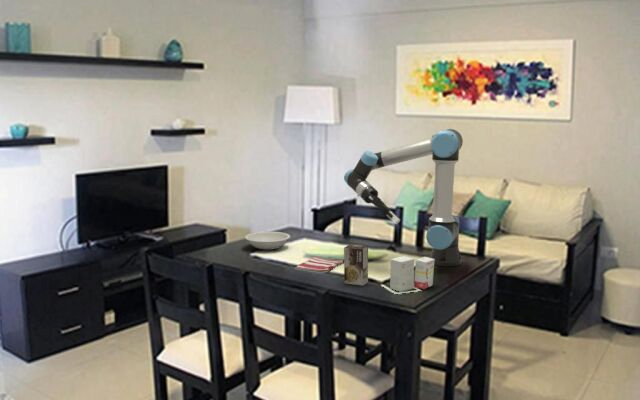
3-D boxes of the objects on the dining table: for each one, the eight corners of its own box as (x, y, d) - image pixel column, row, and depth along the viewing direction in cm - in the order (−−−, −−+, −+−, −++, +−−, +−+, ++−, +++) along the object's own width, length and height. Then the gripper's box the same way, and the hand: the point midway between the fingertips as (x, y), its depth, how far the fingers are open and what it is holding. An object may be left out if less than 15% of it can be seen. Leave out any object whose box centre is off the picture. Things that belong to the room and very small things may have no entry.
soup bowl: (288, 254, 317) (288, 241, 316) (242, 253, 318) (241, 241, 316) (291, 243, 341) (291, 231, 340) (248, 243, 341) (248, 231, 340)
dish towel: (346, 262, 303) (346, 257, 302) (326, 274, 282) (326, 269, 281) (315, 258, 310) (315, 253, 309) (293, 270, 289) (293, 265, 288)
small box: (403, 285, 264) (403, 255, 261) (414, 288, 259) (414, 258, 257) (389, 289, 259) (390, 258, 256) (400, 292, 254) (401, 261, 252)
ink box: (424, 289, 256) (425, 261, 255) (413, 287, 259) (415, 259, 258) (433, 285, 263) (435, 258, 262) (422, 283, 266) (424, 256, 264)
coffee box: (368, 282, 268) (368, 245, 266) (363, 286, 263) (363, 249, 260) (349, 279, 272) (349, 243, 270) (343, 283, 266) (343, 247, 264)
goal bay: (406, 282, 267) (406, 281, 267) (421, 291, 255) (421, 290, 255) (380, 285, 263) (380, 284, 263) (395, 294, 251) (395, 293, 251)
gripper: (369, 203, 296) (398, 232, 280) (354, 193, 286) (385, 223, 271) (379, 191, 294) (409, 220, 279) (365, 181, 285) (396, 210, 270)
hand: (397, 221), depth 275 cm, fingers closed
